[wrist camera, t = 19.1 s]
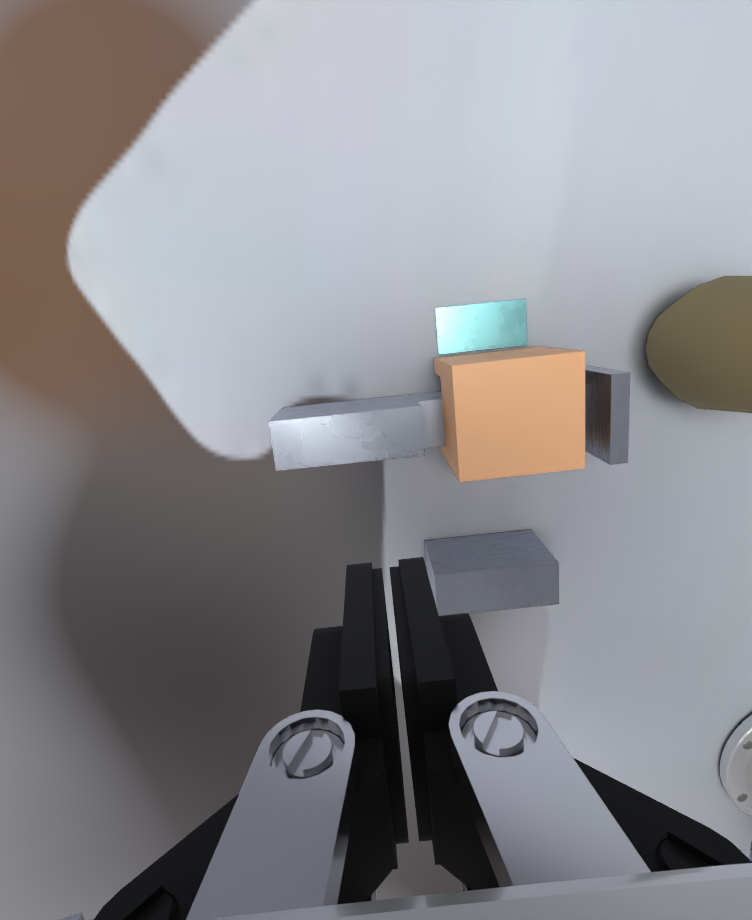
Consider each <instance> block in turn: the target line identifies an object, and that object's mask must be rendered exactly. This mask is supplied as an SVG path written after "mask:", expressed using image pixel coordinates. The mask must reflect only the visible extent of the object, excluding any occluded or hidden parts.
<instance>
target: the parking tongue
mask: <svg viewBox="0 0 752 920" xmlns="http://www.w3.org/2000/svg"><path fill="white" fill-rule="evenodd" d="M424 544H425V556H426V568H427V574H428V577H429V581H430V585H431V589H432V592H433V596H434V600H435V604H436V607H437V611H438V615H439V616H442V615H451V614H461V613H468V614H469V613H478V612H487V611H497V610H507V609H516V608H526V607H535V606H545V605H554V604H559V562H558V561H557V560H556V559H555V558H554V556H553V555H552V554H551V553H550V552H549V551H548V549H547V548H546V547H545V546H544V545H543V543H542V542H541V541H540V540H539V539H538V537H537V536H536V535H535V534H534V533H533V532H532V530H531V529H529V530H520V531H510V532H501V533H491V534H482V535H472V536H463V537H454V538H444V539H435V540H425V541H424Z"/></svg>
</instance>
